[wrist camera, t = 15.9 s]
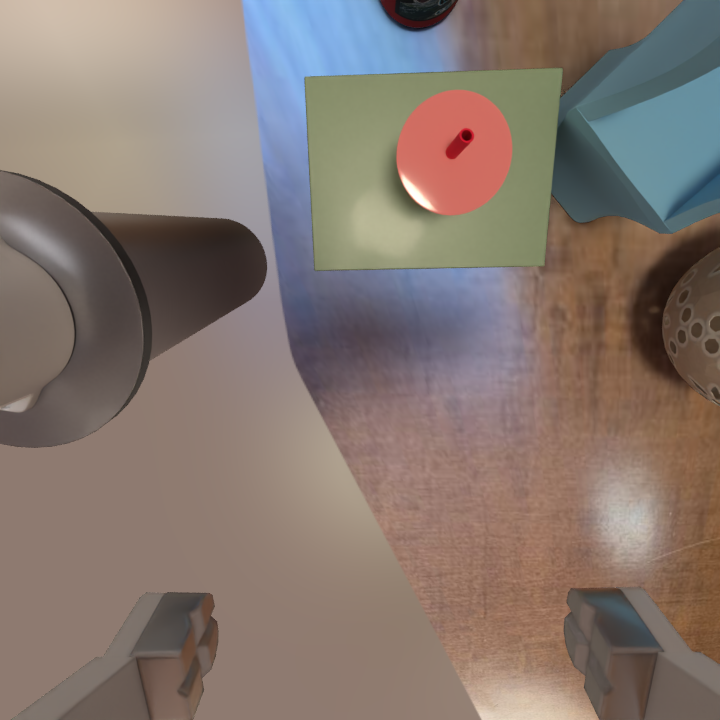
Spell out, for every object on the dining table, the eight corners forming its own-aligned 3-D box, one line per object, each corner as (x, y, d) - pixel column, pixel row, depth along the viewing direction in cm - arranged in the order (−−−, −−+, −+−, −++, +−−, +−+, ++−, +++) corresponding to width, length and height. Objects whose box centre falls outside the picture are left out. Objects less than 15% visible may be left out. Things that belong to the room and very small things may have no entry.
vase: (511, 144, 38) (755, 1, 14) (609, 49, 35) (1101, -319, 11) (582, 231, 39) (905, 239, 16) (679, 146, 37) (1228, 2, 13)
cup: (422, 112, 28) (457, 33, 17) (488, 164, 29) (564, 124, 17) (373, 186, 29) (374, 161, 18) (437, 234, 30) (477, 239, 19)
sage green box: (328, 260, 41) (314, 270, 31) (321, 114, 37) (304, 76, 28) (503, 256, 40) (544, 266, 31) (514, 108, 37) (563, 67, 27)
